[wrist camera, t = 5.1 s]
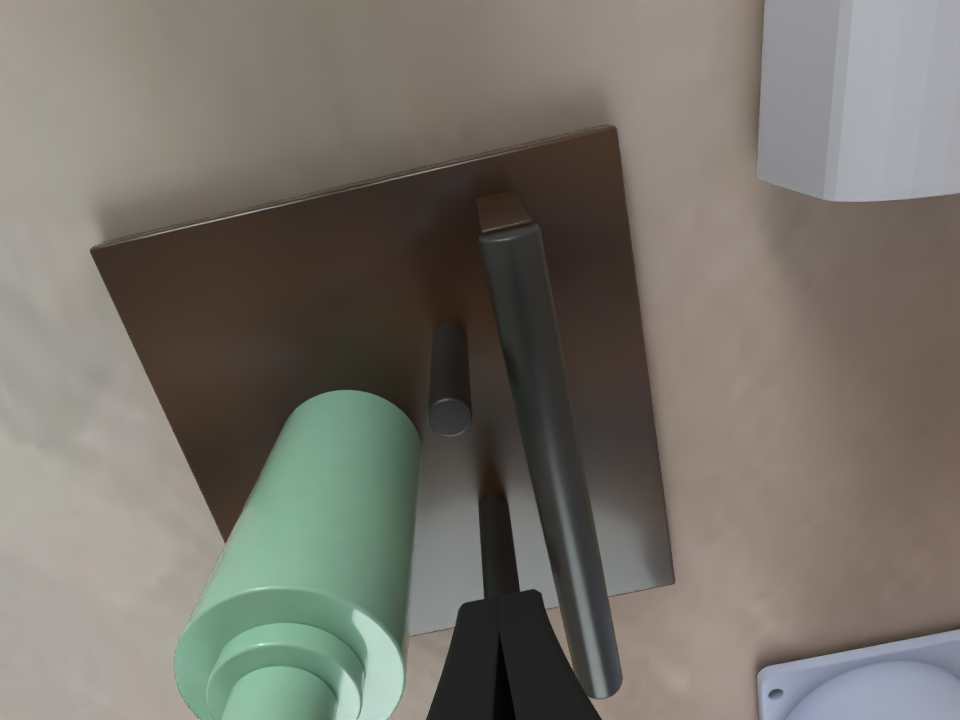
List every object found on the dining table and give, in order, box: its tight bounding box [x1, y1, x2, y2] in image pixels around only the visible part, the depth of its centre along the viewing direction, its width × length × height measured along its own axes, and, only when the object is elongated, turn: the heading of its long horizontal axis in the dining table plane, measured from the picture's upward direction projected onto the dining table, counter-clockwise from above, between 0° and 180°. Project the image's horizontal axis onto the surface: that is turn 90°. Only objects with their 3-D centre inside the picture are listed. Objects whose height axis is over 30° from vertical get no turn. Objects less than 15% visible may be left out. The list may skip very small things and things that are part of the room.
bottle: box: [174, 390, 423, 720], centre depth 14 cm, size 4×8×10 cm
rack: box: [90, 124, 675, 699], centre depth 17 cm, size 14×13×5 cm
